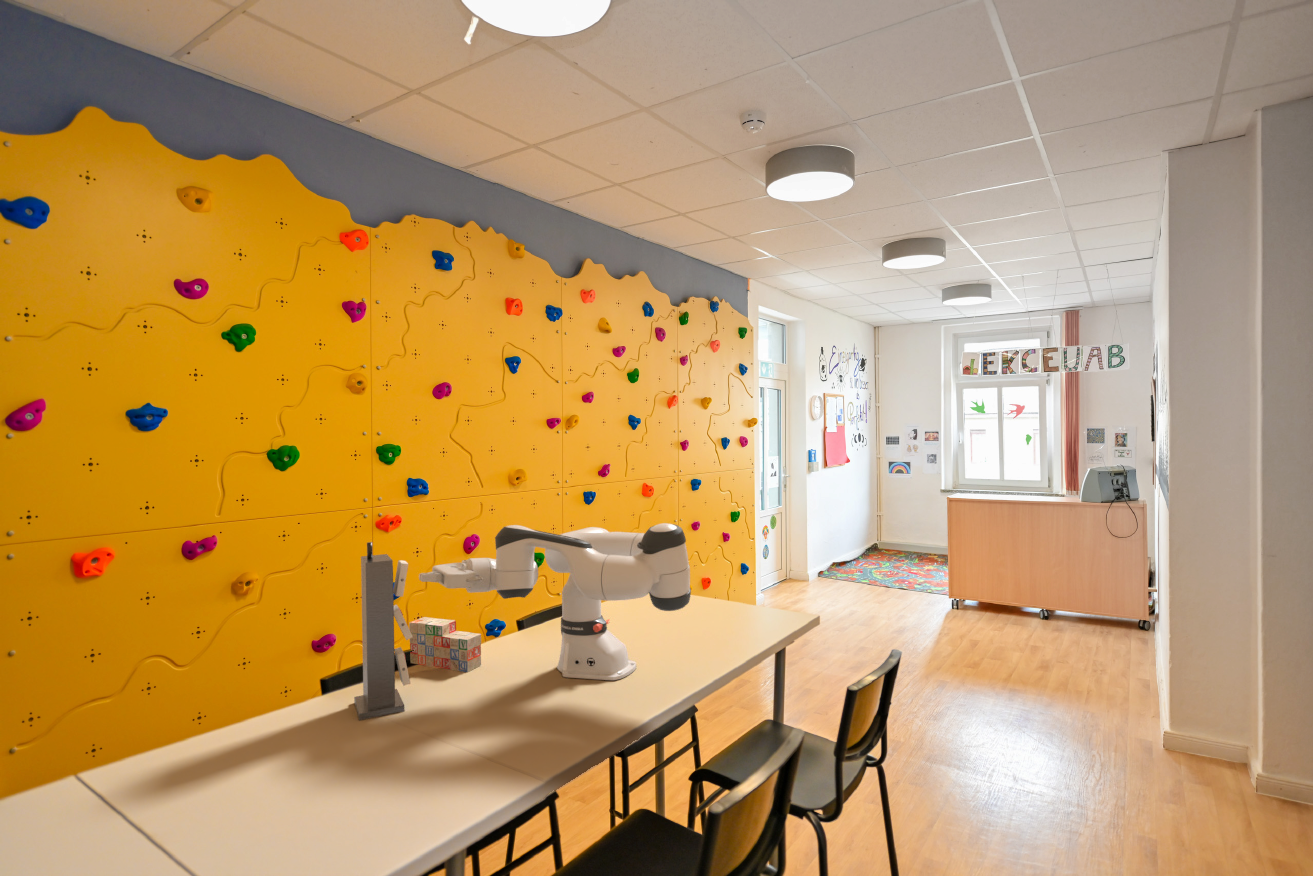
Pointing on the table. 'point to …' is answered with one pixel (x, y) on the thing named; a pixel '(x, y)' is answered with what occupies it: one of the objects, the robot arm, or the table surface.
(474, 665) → the stack of blocks
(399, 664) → the bottom rocker
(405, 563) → the top rocker
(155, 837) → the table surface
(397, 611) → the middle rocker
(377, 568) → the power strip
